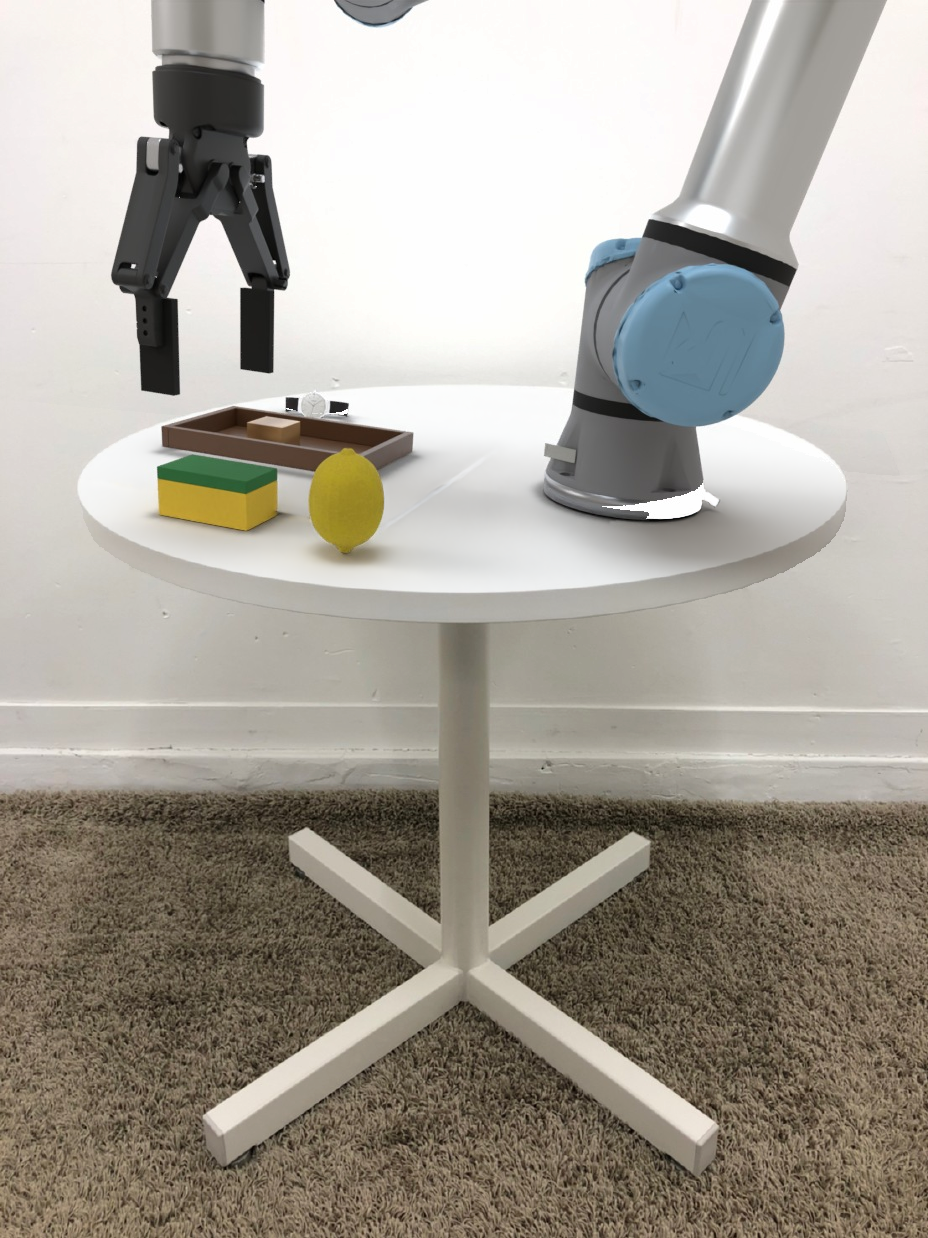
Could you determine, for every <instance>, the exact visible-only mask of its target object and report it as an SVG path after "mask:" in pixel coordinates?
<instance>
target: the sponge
mask: <svg viewBox="0 0 928 1238" xmlns="http://www.w3.org/2000/svg"><path fill="white" fill-rule="evenodd" d="M156 477H157V495H158V496H157V498H158V514H159V516H165V517H170V518H174V519H181V520H186V521H190V522H191V521H192V522H197V523H202V524H207V525H213V526H218V527H224V528H229V529H234V530H239V531H245V532H247V531H250V530H251V529H253V528H255V527H257V526H259V525H261V524H263V523H264V522H266V521H269V520H271V519H272V518H275V517H276V516H278V468H277V467H271V466H266V465H259V464H253V463H247V462H241V461H235V460H228V459H222V458H217V457H211V456H205V455H199V454H190V455H187V456H184V457H180V458H178V459H175V460H172V461H169V462H166V463H163V464H160V465H157V466H156Z"/></svg>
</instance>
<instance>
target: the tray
mask: <svg viewBox="0 0 928 1238" xmlns="http://www.w3.org/2000/svg"><path fill="white" fill-rule="evenodd" d="M266 416H268V417H274V418H281V419H288V420H295V421H300V445H298V446H297V445H290V444H284V443H278V442H271V441H265V440H259V439H252V438H247V422H250V421H253V420H257V419H260V418H263V417H266ZM161 447H162V448H168V449H174V450H179V451H180V450H181V451H187V452H193V453H198V454H204V455H205V454H206V455H211V456H216V457H217V456H218V457H223V458H229V459H235V460H242V461H247V462H248V461H249V462H255V463H261V464H266V465H273V466H278V467H285V468H290V469H297V470H303V471H309V472H313V473H315V471H316V469H317V468H318V466H319V465H320V464H321V463H322V462H323V461H324V460H325V459H327V458H328V457H330V456H331V455H334V454H336V453H340V452H341V451H342V450H343V449H344V448H351V449H353V450H354V451H355V453H357V454H359V455H361V456H363V457H365V458H366V459H367V460H369V461H370V462H371V463H372V464H373V465H374V467H375V468H376V470H377V471H378V470H380V469H382V468H385V467H386V466H388V465H390V464H392V463H393V462H396V461H398V460H399V459H401V458H403V457H405V456H407V455H409V454H411V453H412V452H413V447H414V432H413V431H406V430H401V429H400V430H399V429H393V428H387V427H380V426H374V425H373V426H372V425H366V424H358V423H352V422H346V421H338V420H332V419H325V418H312V417H305V416H304V415H299V414H291V413H286V412H277V411H272V410H264V409H258V408H251V407H244V406H237V405H231V406H228V407H224V408H221V409H217V410H214V411H210V412H207V413H203V414H199V415H196V416H192V417H189V418H186V419H182V420H178V421H174V422H172V423H168V424H165V425H161Z"/></svg>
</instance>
